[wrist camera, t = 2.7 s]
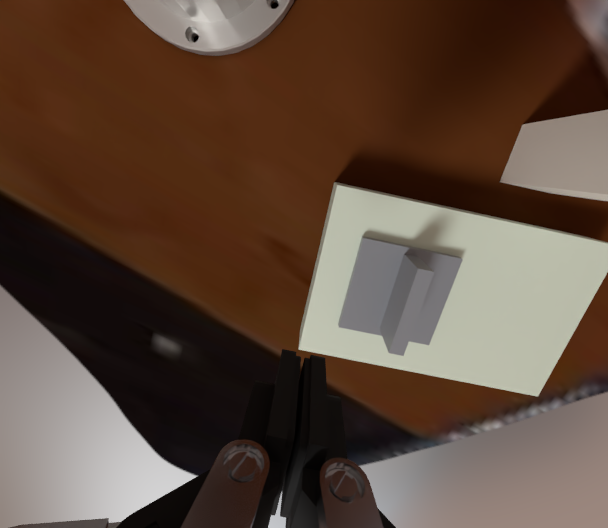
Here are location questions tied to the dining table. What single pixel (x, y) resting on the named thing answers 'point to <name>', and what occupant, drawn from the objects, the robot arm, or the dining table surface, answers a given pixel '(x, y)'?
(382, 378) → the dining table surface
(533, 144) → the plug
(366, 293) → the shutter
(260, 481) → the robot arm
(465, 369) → the socket board
